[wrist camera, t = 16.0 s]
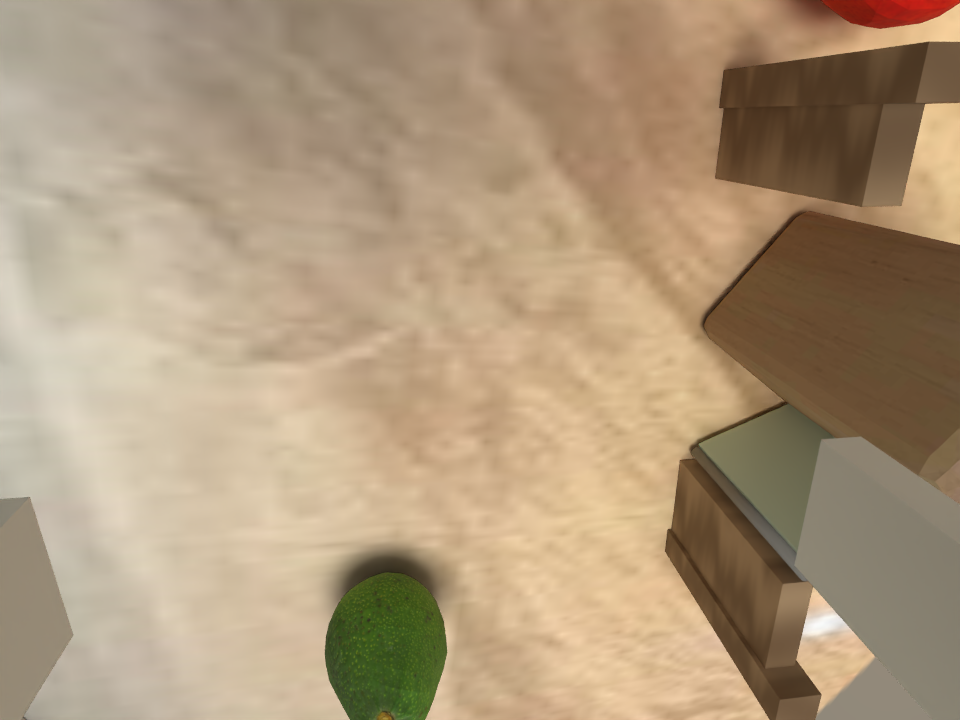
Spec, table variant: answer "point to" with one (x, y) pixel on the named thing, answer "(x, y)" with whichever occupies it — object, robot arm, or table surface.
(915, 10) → the apple
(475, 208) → the table surface
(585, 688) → the table surface
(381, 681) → the fruit
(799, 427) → the door
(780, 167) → the wall frame
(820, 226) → the wooden block
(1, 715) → the robot arm
